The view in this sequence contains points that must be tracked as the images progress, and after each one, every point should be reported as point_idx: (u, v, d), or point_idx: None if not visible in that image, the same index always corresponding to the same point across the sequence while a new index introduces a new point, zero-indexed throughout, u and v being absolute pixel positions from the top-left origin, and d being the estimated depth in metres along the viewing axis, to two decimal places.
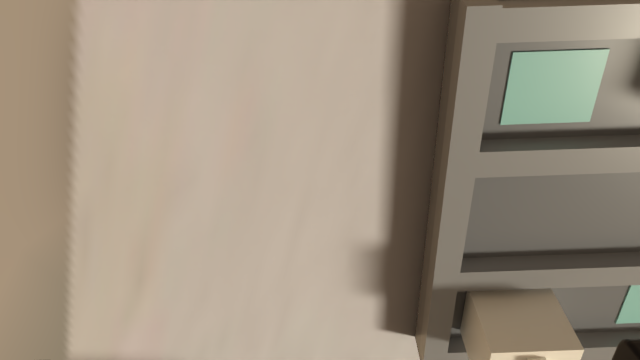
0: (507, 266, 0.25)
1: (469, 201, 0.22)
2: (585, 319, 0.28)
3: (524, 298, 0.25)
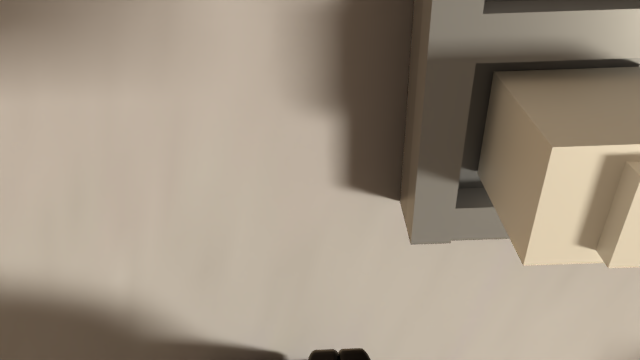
0: (575, 6, 0.13)
1: None
2: None
3: (604, 82, 0.13)
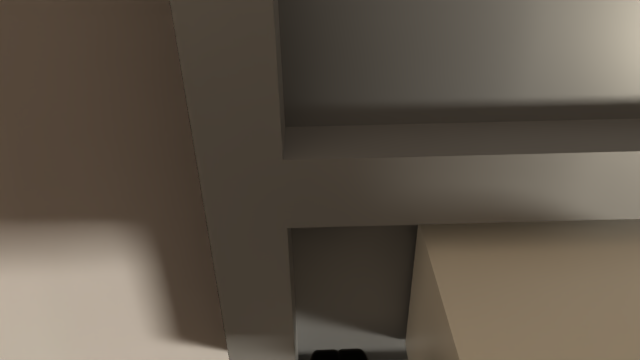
0: (441, 145, 0.08)
1: None
2: None
3: (585, 250, 0.08)
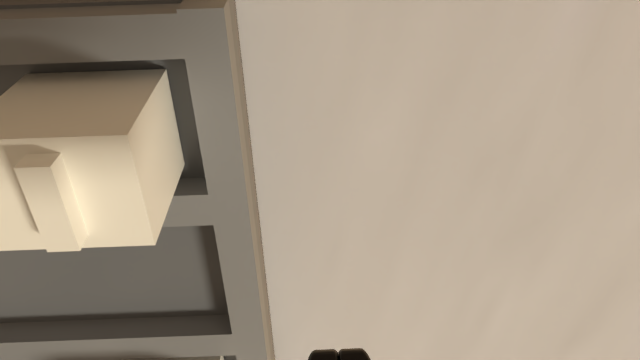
0: None
1: None
2: None
3: None
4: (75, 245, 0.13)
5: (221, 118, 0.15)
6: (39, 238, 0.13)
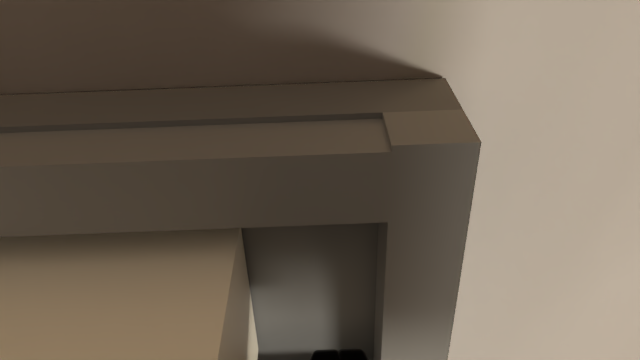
0: None
1: None
2: None
3: None
4: None
5: (429, 306, 0.09)
6: None
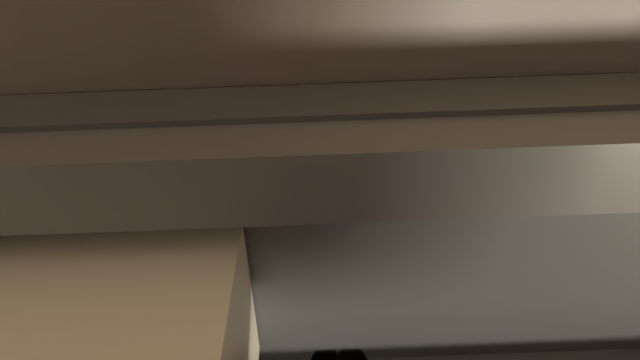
0: None
1: None
2: None
3: None
4: None
5: None
6: None
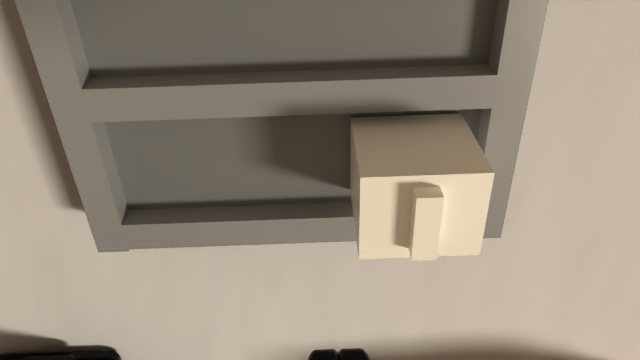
0: (153, 83, 0.18)
1: None
2: (310, 181, 0.21)
3: (424, 126, 0.18)
4: None
5: None
6: None
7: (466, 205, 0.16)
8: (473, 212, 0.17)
